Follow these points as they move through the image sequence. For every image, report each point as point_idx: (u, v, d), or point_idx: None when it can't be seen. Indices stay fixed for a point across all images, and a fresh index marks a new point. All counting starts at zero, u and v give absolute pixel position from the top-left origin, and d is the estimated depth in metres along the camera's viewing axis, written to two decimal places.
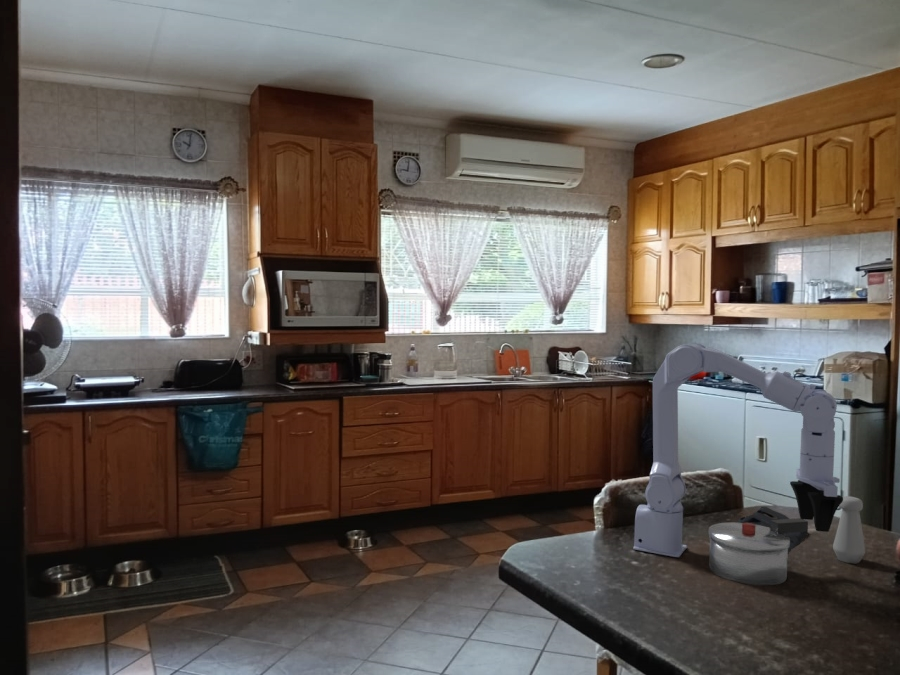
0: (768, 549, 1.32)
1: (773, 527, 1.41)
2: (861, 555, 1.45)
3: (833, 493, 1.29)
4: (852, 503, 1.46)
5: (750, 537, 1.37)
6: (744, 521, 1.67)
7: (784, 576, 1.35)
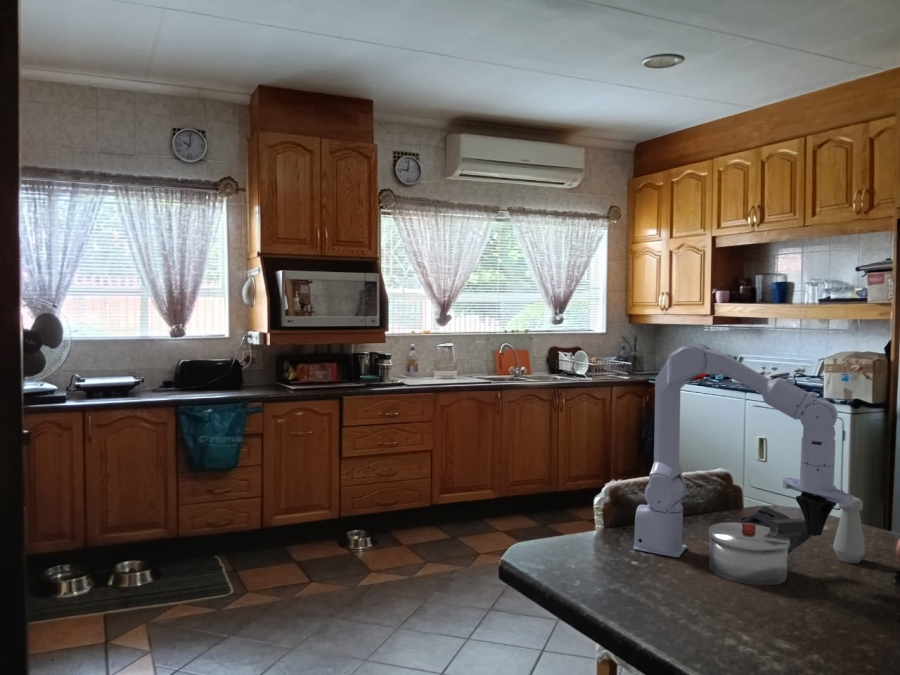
0: (768, 549, 1.32)
1: (773, 527, 1.41)
2: (861, 555, 1.45)
3: (850, 502, 1.29)
4: None
5: (750, 537, 1.37)
6: (745, 521, 1.66)
7: (784, 576, 1.35)
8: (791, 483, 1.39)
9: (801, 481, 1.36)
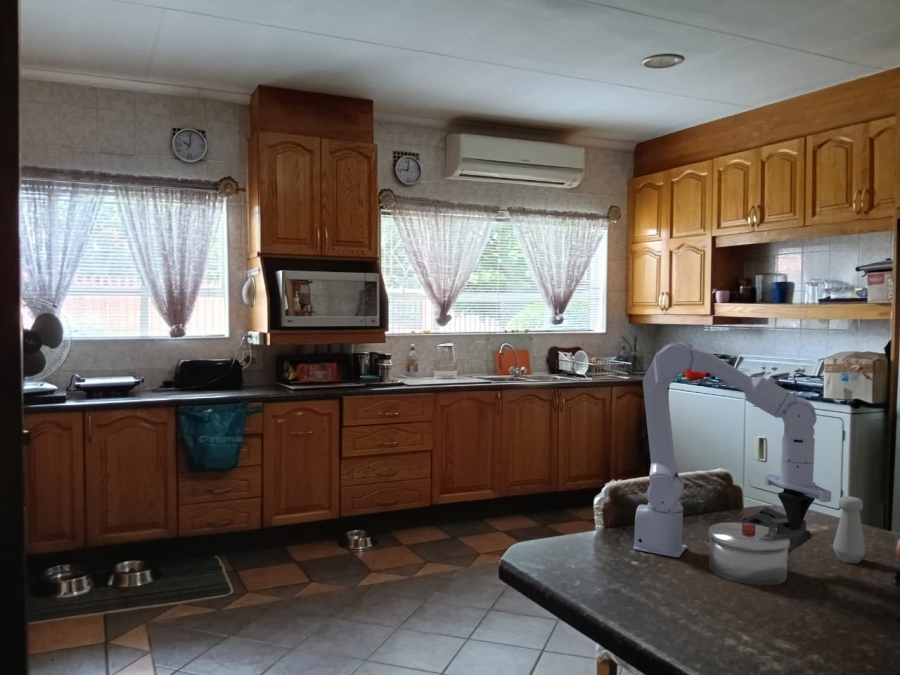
0: (770, 549, 1.32)
1: (772, 527, 1.41)
2: (861, 555, 1.45)
3: (828, 498, 1.34)
4: (852, 503, 1.46)
5: (751, 537, 1.37)
6: (746, 522, 1.66)
7: (784, 576, 1.35)
8: (772, 480, 1.44)
9: (782, 478, 1.40)
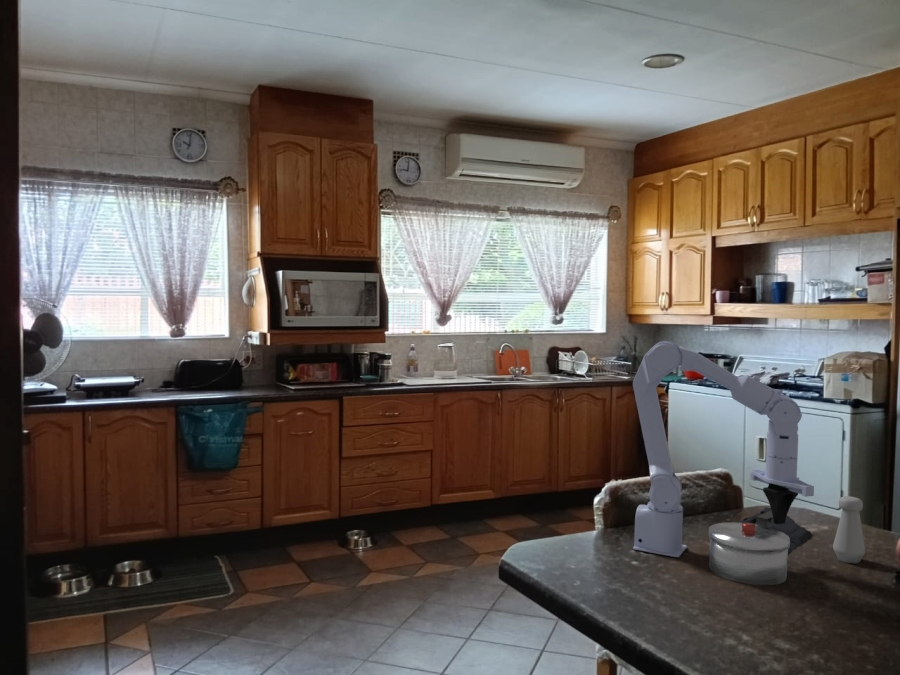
0: (783, 547, 1.34)
1: (760, 523, 1.44)
2: (861, 555, 1.45)
3: (811, 493, 1.37)
4: (852, 503, 1.46)
5: (757, 537, 1.37)
6: (746, 522, 1.66)
7: (784, 576, 1.35)
8: (758, 475, 1.48)
9: (766, 473, 1.44)
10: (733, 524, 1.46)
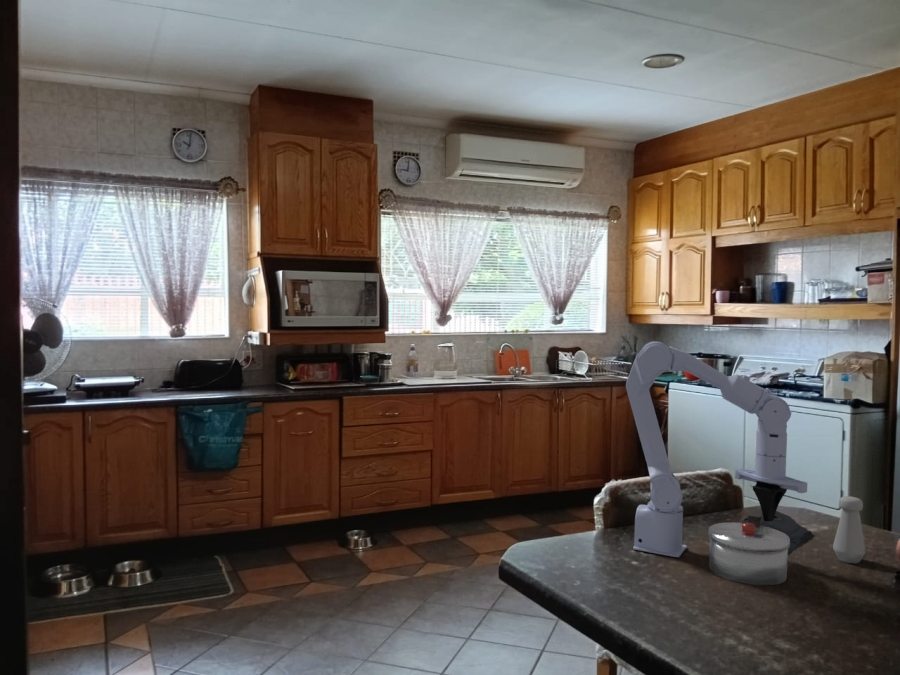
0: (788, 545, 1.35)
1: (753, 522, 1.45)
2: (861, 555, 1.45)
3: (805, 489, 1.40)
4: (852, 503, 1.46)
5: (760, 537, 1.37)
6: (747, 522, 1.66)
7: (784, 576, 1.35)
8: (745, 474, 1.49)
9: (757, 472, 1.45)
10: (726, 524, 1.45)
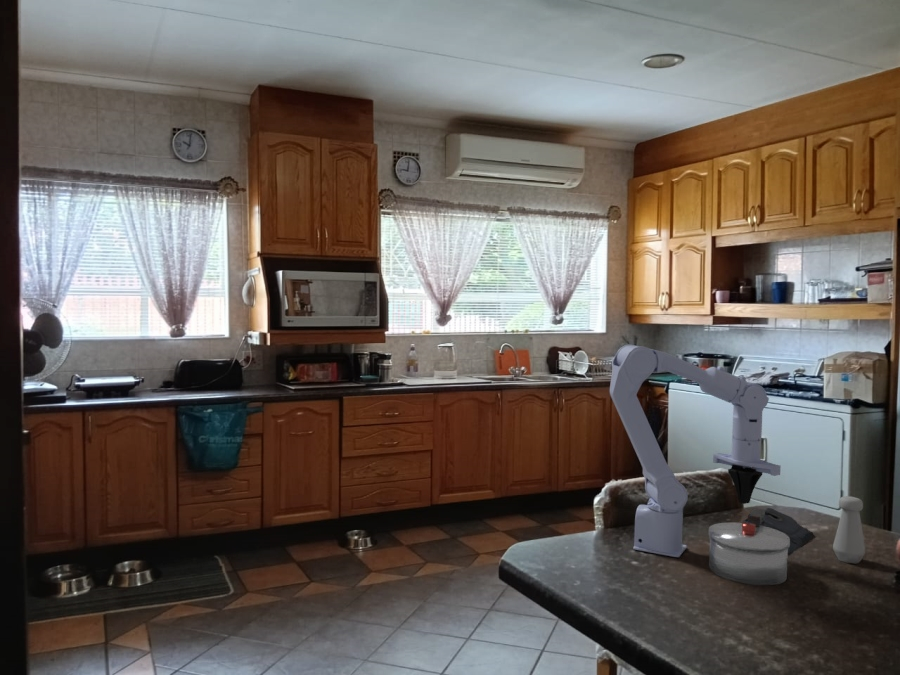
0: (788, 545, 1.35)
1: (752, 522, 1.45)
2: (861, 555, 1.45)
3: (778, 472, 1.46)
4: (852, 503, 1.46)
5: (760, 537, 1.37)
6: None
7: (784, 576, 1.35)
8: (722, 458, 1.54)
9: (733, 455, 1.51)
10: (726, 524, 1.45)
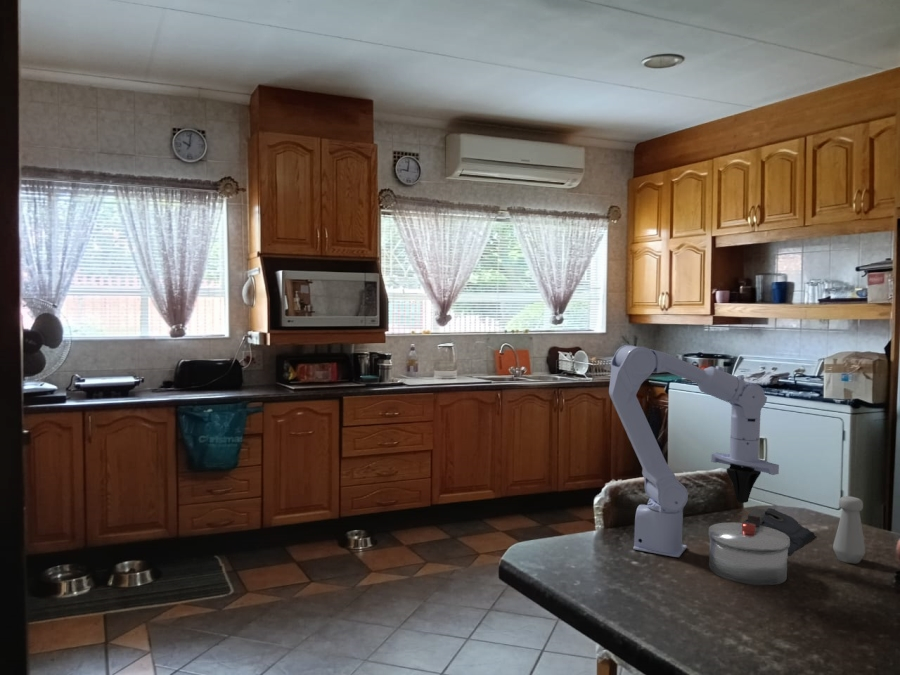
0: (788, 545, 1.35)
1: (752, 522, 1.45)
2: (861, 555, 1.45)
3: (777, 471, 1.46)
4: (852, 503, 1.46)
5: (760, 537, 1.37)
6: None
7: (784, 576, 1.35)
8: (721, 457, 1.55)
9: (732, 455, 1.51)
10: (726, 524, 1.45)
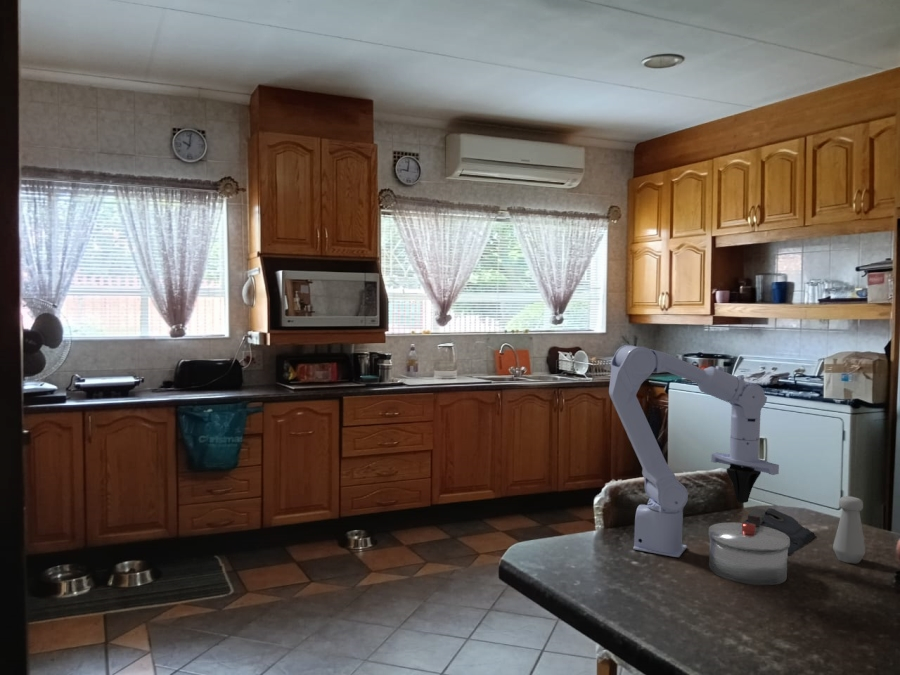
0: (788, 545, 1.35)
1: (752, 522, 1.45)
2: (861, 555, 1.45)
3: (777, 471, 1.46)
4: (852, 503, 1.45)
5: (760, 537, 1.37)
6: None
7: (784, 576, 1.35)
8: (721, 457, 1.55)
9: (732, 455, 1.51)
10: (726, 524, 1.45)
